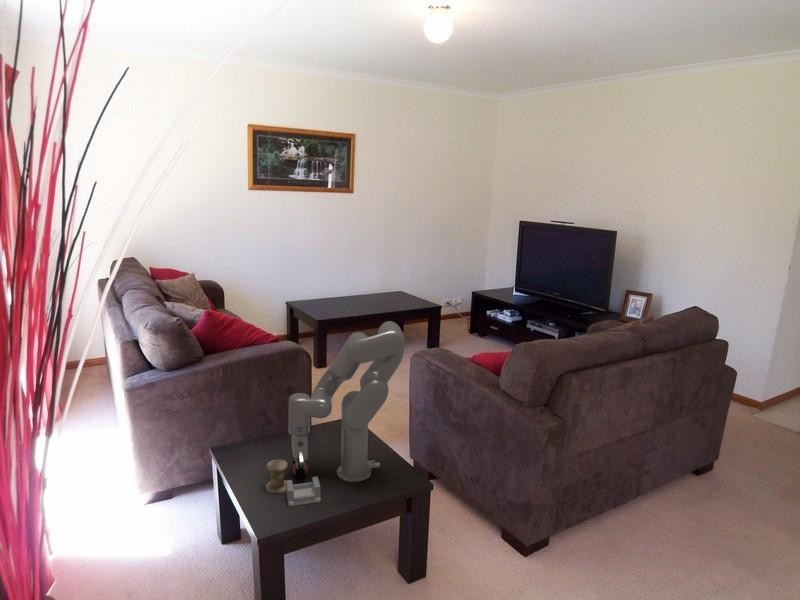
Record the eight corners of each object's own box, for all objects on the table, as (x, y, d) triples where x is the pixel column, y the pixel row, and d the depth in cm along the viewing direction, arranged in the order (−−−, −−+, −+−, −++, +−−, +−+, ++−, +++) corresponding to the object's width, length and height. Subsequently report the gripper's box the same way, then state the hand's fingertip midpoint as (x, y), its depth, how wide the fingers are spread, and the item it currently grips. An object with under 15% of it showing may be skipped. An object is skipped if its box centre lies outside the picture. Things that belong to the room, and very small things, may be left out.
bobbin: (288, 479, 194) (287, 457, 193) (290, 491, 187) (289, 468, 185) (265, 482, 192) (264, 460, 190) (266, 495, 185) (265, 471, 183)
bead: (306, 470, 201) (306, 457, 200) (308, 478, 196) (308, 464, 195) (291, 472, 199) (291, 458, 198) (293, 480, 194) (293, 466, 193)
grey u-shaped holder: (317, 487, 190) (317, 475, 189) (320, 501, 182) (320, 488, 181) (286, 492, 187) (286, 478, 186) (288, 506, 179) (288, 492, 178)
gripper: (313, 437, 187) (312, 482, 190) (306, 416, 203) (306, 458, 206) (290, 439, 184) (290, 485, 188) (286, 418, 200) (286, 460, 204)
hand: (298, 471), depth 197 cm, fingers open, 9 cm apart
